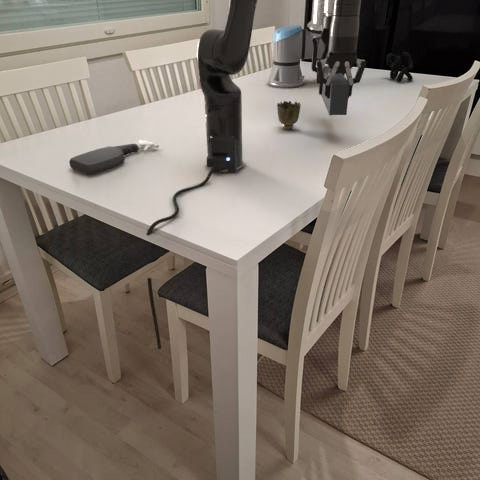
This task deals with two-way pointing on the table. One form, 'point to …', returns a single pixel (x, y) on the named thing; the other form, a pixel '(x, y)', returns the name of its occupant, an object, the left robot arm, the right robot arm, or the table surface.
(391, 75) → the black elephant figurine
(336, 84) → the bar
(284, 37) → the right robot arm
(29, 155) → the table surface
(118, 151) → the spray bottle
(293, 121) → the cup
